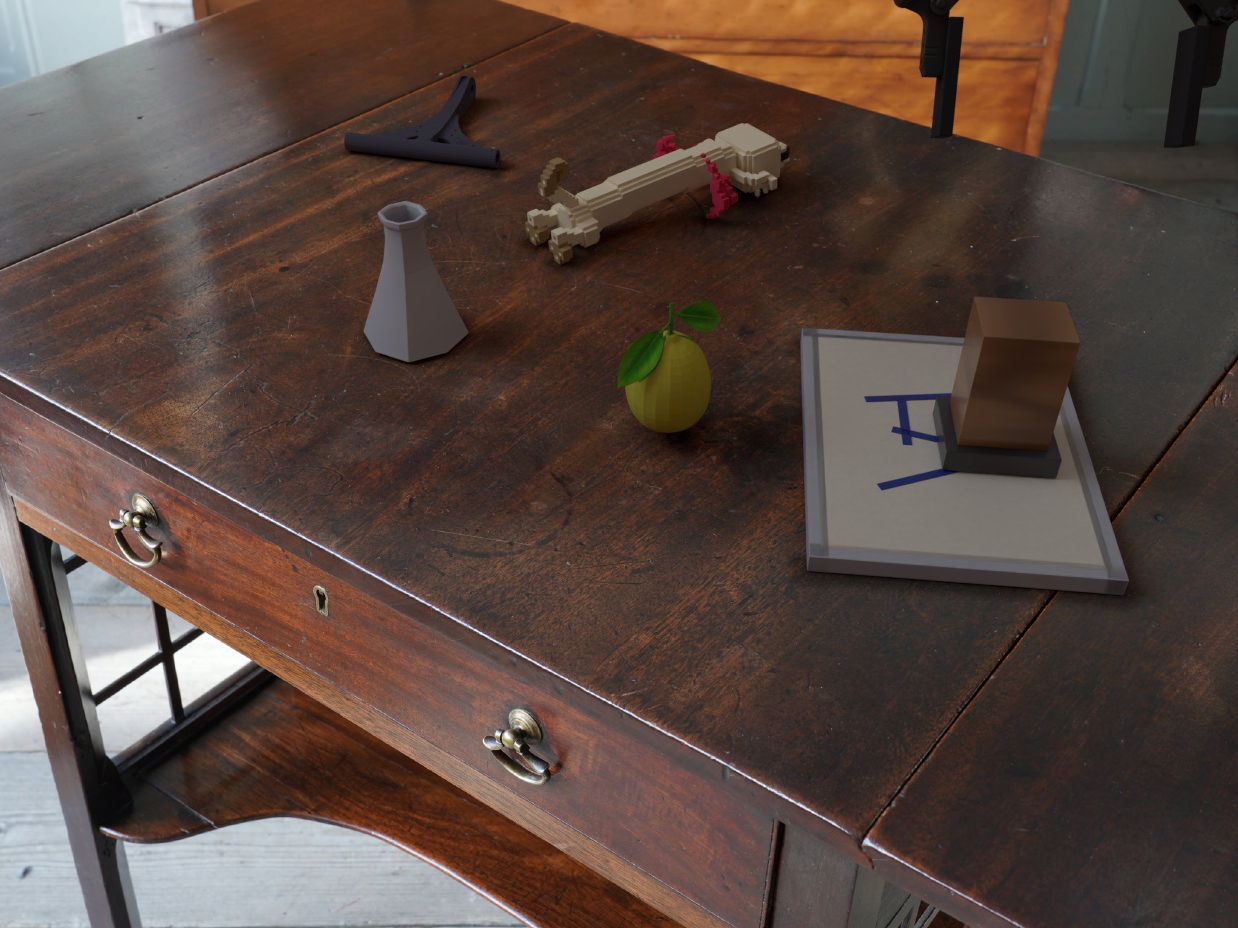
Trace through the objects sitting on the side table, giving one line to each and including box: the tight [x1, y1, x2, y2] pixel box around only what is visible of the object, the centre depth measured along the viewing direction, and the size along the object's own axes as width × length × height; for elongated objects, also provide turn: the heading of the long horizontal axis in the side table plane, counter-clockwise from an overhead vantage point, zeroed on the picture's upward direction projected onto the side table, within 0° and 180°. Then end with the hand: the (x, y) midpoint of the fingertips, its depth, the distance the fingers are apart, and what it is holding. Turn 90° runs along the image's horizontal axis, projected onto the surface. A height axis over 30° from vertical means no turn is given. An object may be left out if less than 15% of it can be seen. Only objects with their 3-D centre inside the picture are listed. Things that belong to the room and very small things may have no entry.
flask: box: [363, 200, 469, 363], centre depth 86 cm, size 7×7×10 cm
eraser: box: [933, 296, 1081, 478], centre depth 75 cm, size 7×6×10 cm
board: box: [799, 327, 1130, 596], centre depth 79 cm, size 18×24×1 cm
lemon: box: [617, 299, 722, 434], centre depth 78 cm, size 7×6×10 cm
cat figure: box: [524, 122, 790, 265], centre depth 101 cm, size 10×9×25 cm
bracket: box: [343, 75, 501, 169], centre depth 116 cm, size 14×15×3 cm
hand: (1059, 142), depth 71 cm, fingers open, 13 cm apart
